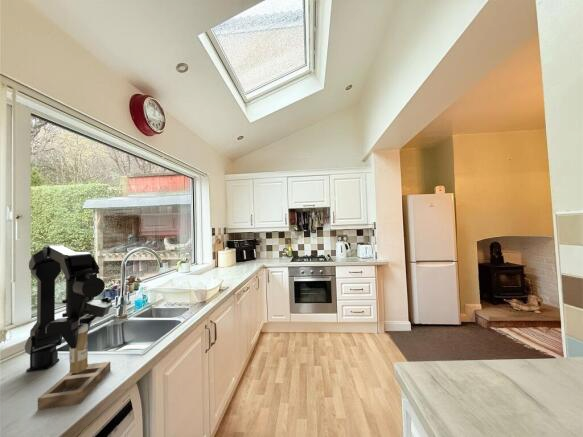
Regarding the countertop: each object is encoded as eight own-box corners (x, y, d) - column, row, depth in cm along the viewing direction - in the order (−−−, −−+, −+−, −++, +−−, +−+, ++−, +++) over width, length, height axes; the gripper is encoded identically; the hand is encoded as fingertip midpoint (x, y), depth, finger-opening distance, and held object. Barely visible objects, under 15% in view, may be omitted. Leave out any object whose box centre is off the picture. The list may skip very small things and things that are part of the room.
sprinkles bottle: (87, 370, 78) (87, 326, 78) (67, 375, 75) (67, 329, 76) (88, 364, 82) (88, 321, 82) (70, 368, 79) (70, 325, 80)
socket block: (37, 409, 69) (37, 398, 69) (77, 374, 86) (77, 365, 86) (79, 403, 71) (79, 392, 71) (110, 370, 88) (110, 361, 88)
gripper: (90, 299, 72) (90, 356, 71) (120, 285, 90) (121, 330, 90) (44, 303, 70) (44, 361, 69) (84, 287, 88) (84, 333, 87)
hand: (78, 344), depth 79 cm, fingers closed on sprinkles bottle, 4 cm apart
